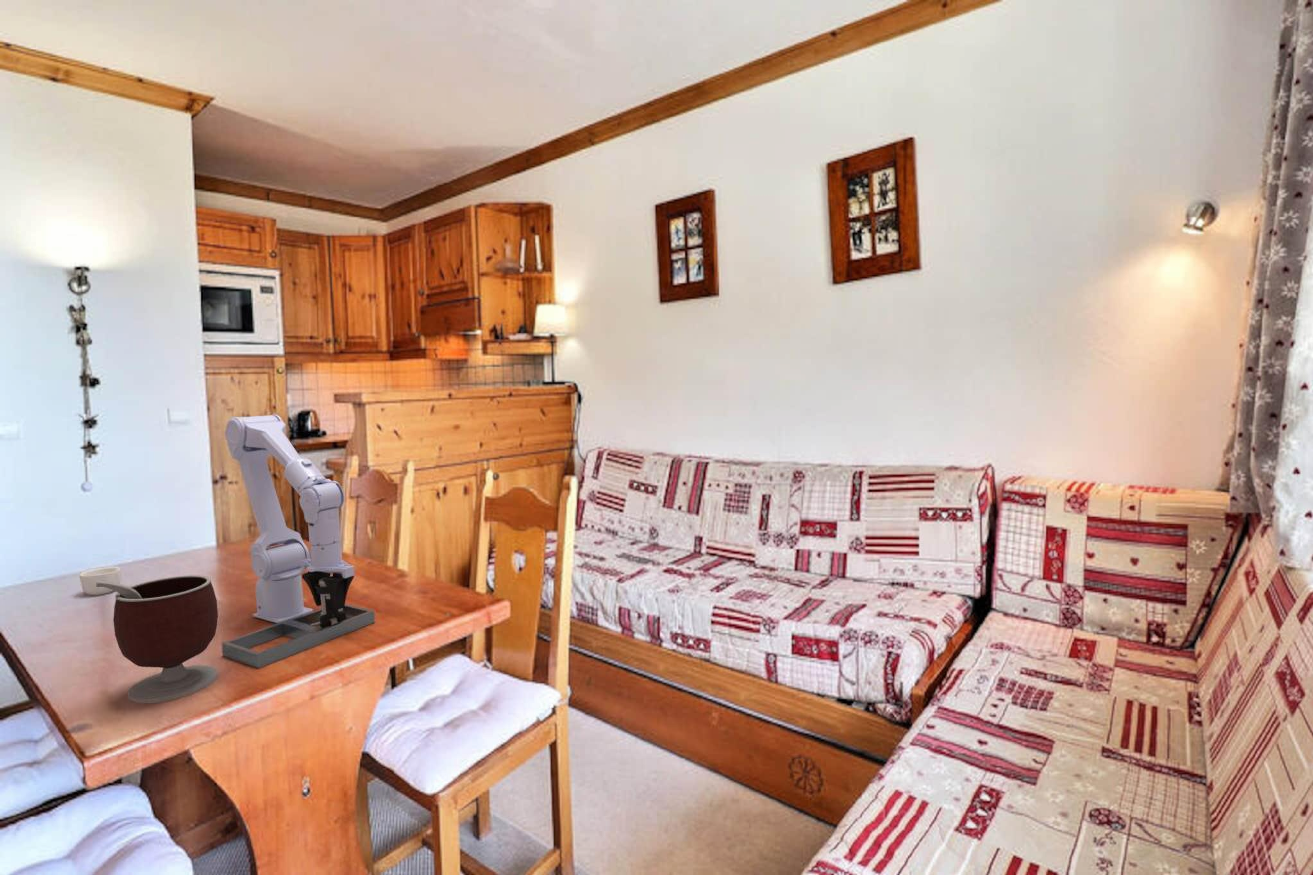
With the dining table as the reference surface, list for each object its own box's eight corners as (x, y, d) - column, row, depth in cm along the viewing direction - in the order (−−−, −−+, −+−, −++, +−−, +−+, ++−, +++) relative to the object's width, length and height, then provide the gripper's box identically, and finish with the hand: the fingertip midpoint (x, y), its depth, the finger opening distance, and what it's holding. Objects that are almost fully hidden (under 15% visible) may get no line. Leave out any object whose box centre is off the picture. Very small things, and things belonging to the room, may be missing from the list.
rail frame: (222, 655, 122) (221, 642, 121) (339, 613, 142) (339, 602, 142) (258, 668, 116) (257, 654, 116) (374, 622, 137) (373, 610, 137)
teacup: (124, 592, 161) (121, 570, 160) (82, 600, 156) (80, 578, 155) (119, 583, 168) (117, 563, 167) (79, 591, 163) (77, 570, 162)
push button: (315, 635, 130) (310, 585, 129) (308, 628, 134) (304, 580, 133) (350, 625, 134) (346, 578, 133) (343, 619, 138) (339, 573, 137)
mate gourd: (215, 659, 120) (205, 553, 118) (231, 684, 110) (220, 569, 108) (106, 688, 110) (93, 573, 108) (112, 719, 100) (98, 592, 98)
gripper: (285, 542, 133) (290, 607, 134) (329, 550, 126) (334, 618, 127) (317, 535, 139) (322, 596, 140) (361, 542, 132) (366, 607, 133)
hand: (330, 606), depth 134 cm, fingers closed on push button, 5 cm apart
